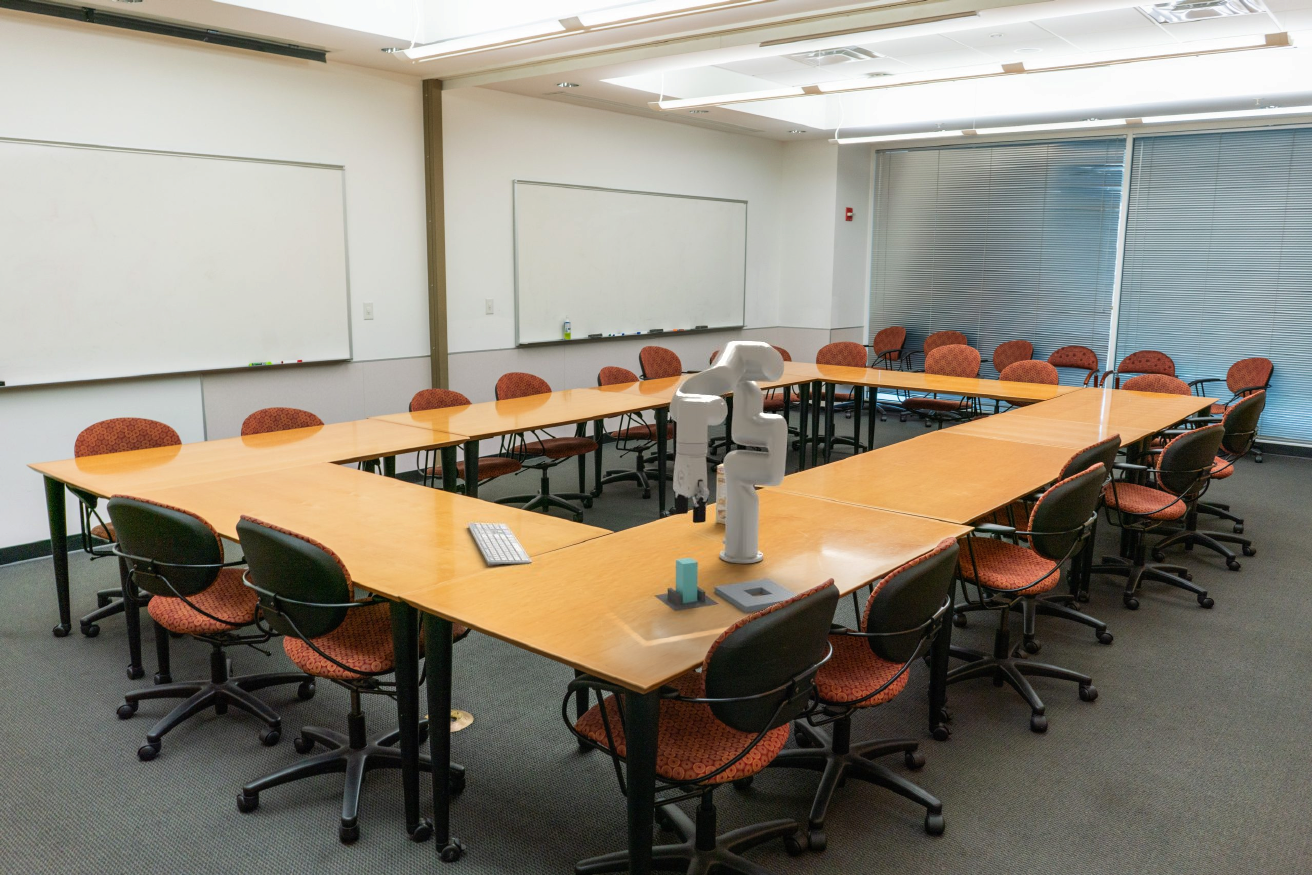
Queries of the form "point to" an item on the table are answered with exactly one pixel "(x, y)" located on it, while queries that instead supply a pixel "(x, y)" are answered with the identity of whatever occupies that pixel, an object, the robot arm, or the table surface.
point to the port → (743, 593)
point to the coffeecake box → (721, 496)
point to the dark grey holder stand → (675, 602)
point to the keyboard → (498, 544)
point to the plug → (687, 579)
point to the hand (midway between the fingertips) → (690, 517)
